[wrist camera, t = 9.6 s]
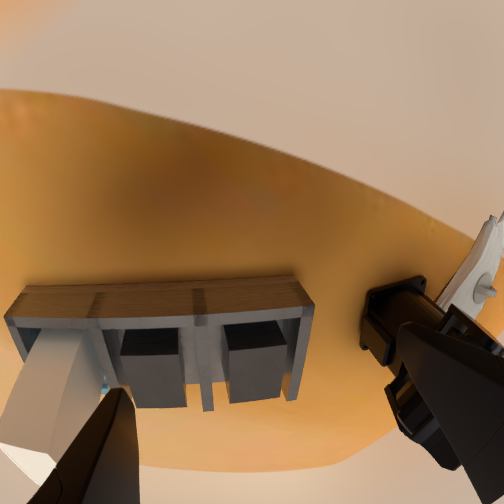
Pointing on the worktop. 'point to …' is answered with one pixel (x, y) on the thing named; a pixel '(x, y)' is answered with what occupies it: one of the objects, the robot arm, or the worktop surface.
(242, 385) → the rack
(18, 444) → the white rectangular block
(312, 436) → the worktop surface
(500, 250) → the white toy boat
